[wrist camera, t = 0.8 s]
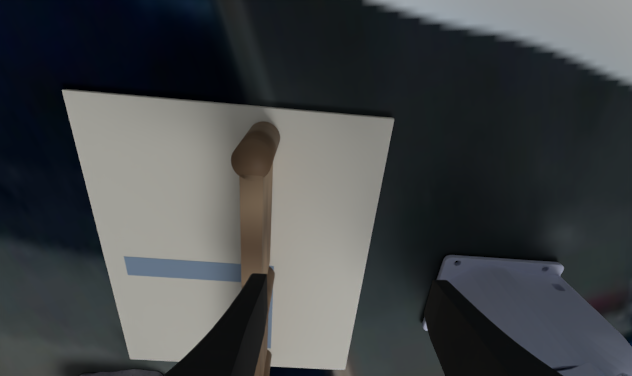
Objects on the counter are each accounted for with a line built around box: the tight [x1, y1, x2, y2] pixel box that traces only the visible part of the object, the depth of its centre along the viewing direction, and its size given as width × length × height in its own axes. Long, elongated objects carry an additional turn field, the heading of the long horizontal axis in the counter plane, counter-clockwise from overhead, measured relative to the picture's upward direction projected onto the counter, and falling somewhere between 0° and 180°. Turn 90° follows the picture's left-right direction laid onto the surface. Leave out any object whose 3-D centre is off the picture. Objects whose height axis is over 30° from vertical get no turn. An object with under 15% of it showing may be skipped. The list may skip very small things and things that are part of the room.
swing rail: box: [231, 121, 280, 288], centre depth 19 cm, size 13×2×5 cm, turn 175°
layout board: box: [62, 89, 394, 370], centre depth 24 cm, size 20×24×1 cm
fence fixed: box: [254, 267, 275, 376], centre depth 24 cm, size 2×12×5 cm, turn 175°
